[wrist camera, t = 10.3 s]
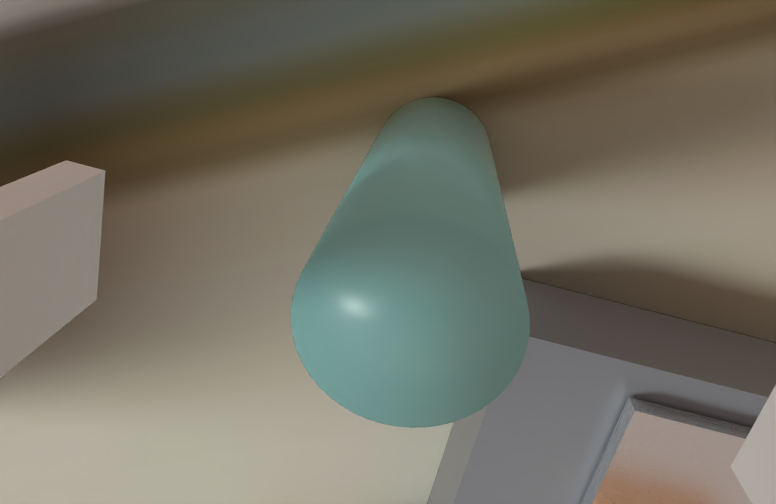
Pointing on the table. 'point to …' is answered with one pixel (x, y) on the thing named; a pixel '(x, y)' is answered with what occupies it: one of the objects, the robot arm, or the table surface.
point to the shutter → (668, 459)
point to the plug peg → (416, 278)
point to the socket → (593, 396)
